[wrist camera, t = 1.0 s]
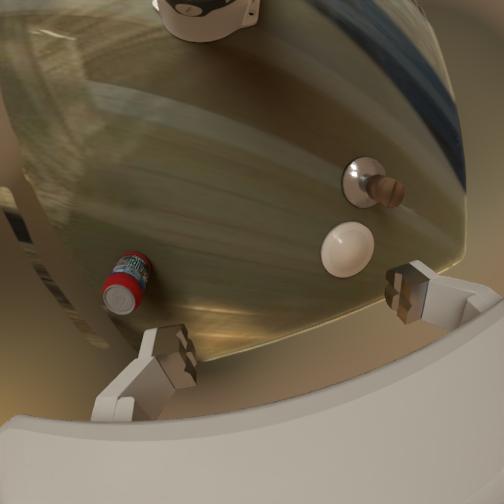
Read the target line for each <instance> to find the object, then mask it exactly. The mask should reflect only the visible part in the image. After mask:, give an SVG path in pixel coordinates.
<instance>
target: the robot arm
mask: <svg viewBox="0 0 504 504" xmlns="http://www.w3.org/2000/svg"><path fill="white" fill-rule="evenodd" d="M259 5H260V0H153V2H152V6H153V8H154V9H155V10H156V11H157V12H158V13H159V14H160V15H161V17H162V20H163V23H164V25H165V27H166V28H167V30H168V31H169V32H170V33H172V34H173V35H174V36H176V37H178V38H180V39H183V40H186V41H191V42H209V41H214V40H218V39H221V38H223V37H226V36H228V35H229V34H231V33H233V32H234V31H236V30H238V29H240V28H244V27H249V26H253V25H255V24H256V23H257V20H258V13H259ZM249 13H252V14H253V15H249ZM386 280H387V282H388V284H387V286H386V288H385V299H386V302H387V304H388V306H389V307H390V308H391V309H392V310H396V311H397V315H398V317H399V318H400V319H401V320H402V321H403V322H404V323H405V324H409V323H411V322H413V321H416V320H418V319H421V318H422V320H424V321H427V322H429V323H431V324H433V325H435V326H438V327H440V328H442V329H444V330H447V331H449V332H450V333H448V334H446V335H444V336H442V337H441V338H439V339H437V340H435V341H433V342H431V343H429V344H427V345H426V346H424V347H422V348H420V349H418V350H416V351H414V352H411V353H409V354H408V355H405V356H403V357H401V358H399V359H396V360H394V361H392V362H390V363H387V364H385V365H383V366H380V367H378V368H375V369H373V370H371V371H368V372H365V373H363V374H360V375H358V376H355V377H353V378H350V379H347V380H344V381H341V382H339V383H336V384H333V385H330V386H327V387H324V388H320V389H317V390H314V391H311V392H307V393H304V394H301V395H297V396H294V397H290V398H286V399H282V400H279V401H274V402H270V403H266V404H262V405H257V406H253V407H248V408H243V409H238V410H233V411H227V412H221V413H215V414H209V415H201V416H194V417H186V418H176V419H165V420H157V419H158V417H159V416H160V414H161V412H162V411H163V409H164V408H165V406H166V405H167V403H168V401H169V400H170V398H171V397H172V395H173V394H174V392H175V389H178V388H185V387H191V386H196V385H197V382H196V381H197V373H196V370H195V368H194V366H195V365H196V364H197V357H196V352H195V348H194V345H193V343H192V340H190V339H189V338H187V336H188V331H187V329H186V327H185V325H184V324H177V325H171V326H165V327H159V328H154V329H148V330H146V331H145V332H144V336H143V340H142V344H141V348H140V352H139V356H138V359H135V360H133V361H132V362H131V363H130V364H129V365H128V366H127V367H126V368H125V370H123V371H122V372H121V374H119V375H118V377H116V379H114V380H113V381H112V382H111V384H110V385H108V387H107V388H106V389H105V390H104V391H103V392H102V393H101V394H100V395H99V396H98V397H97V398H96V402H95V405H94V409H93V413H92V416H91V420H90V421H76V420H64V419H54V418H45V417H37V416H32V415H26V414H18V415H16V416H14V417H13V418H11V419H10V420H8V421H7V422H6V423H5V424H4V425H2V426H1V427H0V504H504V298H501V297H500V296H499V295H498V294H497V293H495V292H494V291H493V290H492V289H490V288H489V287H487V286H485V285H481V284H477V283H473V282H468V281H464V280H460V279H456V278H452V277H447V276H439V275H438V274H436V273H435V272H434V271H432V270H431V269H430V268H428V267H427V266H426V265H424V264H423V263H422V262H420V261H419V260H414V261H411V262H409V263H407V264H404V265H401V266H398V267H395V268H392V269H390V270H388V271H387V273H386Z"/></svg>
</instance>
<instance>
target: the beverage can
mask: <svg viewBox="0 0 504 504" xmlns="http://www.w3.org/2000/svg"><path fill="white" fill-rule="evenodd" d="M150 274H151V266H150V263H149V261H148V259H147V258H146V257H145V256H144V255H142V254H140V253H138V252H127V253H125V254H123V255H122V256H121V257H120V259H119V260H118V262H117V263H116V265H115V267H114V268H113V270H112V271H111V273H110V275H109V276H108V278H107V280H106V282H105V283H104V286H103V298H104V302H105V304H106V306H107V307H108V308H109V309H110V310H111V311H112V312H114V313H117V314H121V315H124V314H128V313H130V312H131V311H133V310H135V309H136V308H137V307H138V306H139V305H140V303H141V300H142V297H143V294H144V291H145V288H146V286H147V283H148V280H149V277H150Z"/></svg>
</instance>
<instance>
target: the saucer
mask: <svg viewBox="0 0 504 504" xmlns="http://www.w3.org/2000/svg"><path fill="white" fill-rule="evenodd" d="M373 250H374V239H373V236H372V234H371V232H370V230H369V229H368V228H367V227H365V226H364V225H362V224H361V223H359V222H355V221H347V222H343V223H340V224H338V225H336V226H335V227H334V228H332V229H331V230H330V231H329V232H328V234H327V235H326V236H325V238H324V240H323V242H322V245H321V250H320V257H321V261H322V264H323V266H324V267H325V268H326V270H327V271H328V272H329V273H330V274H332V275H334V276H336V277H349V276H352V275H355V274H357V273H358V272H360V271H361V270H362V269H363V268H364V267H365V266H366V265H367V264H368V262H369V261H370V259H371V257H372V254H373Z"/></svg>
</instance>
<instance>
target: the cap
mask: <svg viewBox="0 0 504 504" xmlns="http://www.w3.org/2000/svg"><path fill="white" fill-rule="evenodd" d="M366 189H367V194H368V196H369V197H370V198H371V199H373V200H375V201H377V202H379V203H381V204H383V205H385V206H387V207H389V208H394V207H397V206H398V205H399V204H400V203H401V202H402V200H403V197H404V188H403V185H402V183H401V182H400V181H398V180H395V179H392V178H389V177H386V176H383V175H380V174H376V175H373V176H372V177H371V178H370V179H369V180H368V183H367V187H366Z"/></svg>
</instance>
